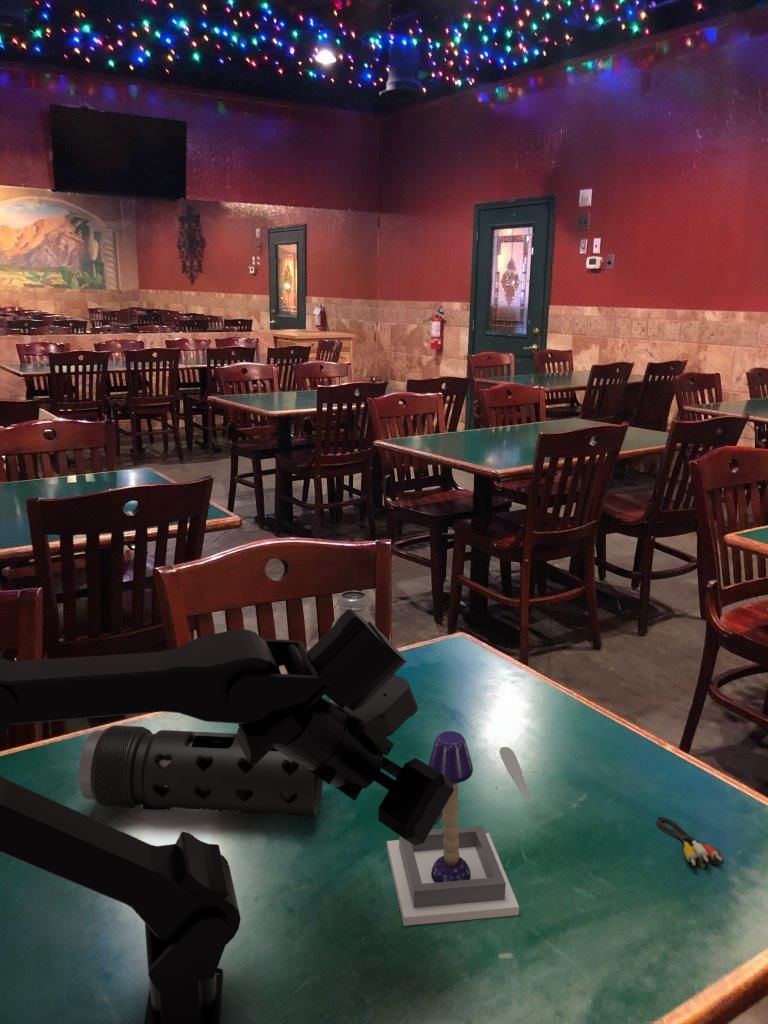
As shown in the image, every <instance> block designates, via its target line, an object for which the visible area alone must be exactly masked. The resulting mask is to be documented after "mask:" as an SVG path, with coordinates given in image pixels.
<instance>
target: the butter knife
mask: <svg viewBox="0 0 768 1024" xmlns="http://www.w3.org/2000/svg"><path fill="white" fill-rule="evenodd" d="M499 755H500V756H501V759H502V761H503V764H504V765H505V768H506V770H507V771H508V773H509V775H510V776H511V778H512V779H513V781H514V783H515V785H516V787H517V786H518V787H519V788H518V787H517V789H518V791H519V790H520V791H521V793H522V794H523V795H522V794H521V793H520V794H521V796H522V798H523V799H524V798H527V799H526V800H529V799H530V797H529V795H531V793H530V791H529V792H527V788H528V786H527V784H525V783H526V781H524V780H525V777H524V775H523V776H522V773H523V771H522V767H521V765H520V763H518V762H519V760H518V758H517V756H516V754H515V752H514V751H513V749H511V748H510V747H509V746H502V747H500V749H499ZM520 767H521V768H520ZM523 777H524V778H523ZM520 791H519V792H520ZM529 793H530V794H529ZM528 797H529V798H528ZM529 801H531V799H530V800H529ZM529 801H527V802H529ZM531 803H532V802H531Z"/></svg>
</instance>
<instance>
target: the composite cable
mask: <svg viewBox="0 0 768 1024" xmlns="http://www.w3.org/2000/svg"><path fill="white" fill-rule="evenodd" d="M666 824H668V825H666ZM655 825H656V827H657V828H658V829H659V830H660V831H662V832H664V833H666V834H667V835H670V836H672V837H674V838H677V839H679V840H680V841H681V842H683V847H684V848H683V853H684V855H685V858H686V860H687V861H688V862H689V863H691V865H692V866H696V865H697V866H699V867H701V869H702V870H705V868H706V867H705V866H706V864H705V863H704V861H705V862H706V863H709V864H712V865H721V864H723V861H724V858H723V854H722V852H721V851H720V850H719V849H718V848H716V847H714V846H712V845H709V844H707V843H704V842H702V841H700V840H697V839H696V838H694V837H692V836H691V835H689V833H688V832H686V831H685V830H684V829H683V828H682V827H681V826H680V825H679V824H678V823H677V822H675V821H674V820H672V819H670V818H668V817H665V816H658V817H657V818H656V823H655ZM669 825H670V826H671V827H670V826H669Z"/></svg>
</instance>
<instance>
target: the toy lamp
mask: <svg viewBox="0 0 768 1024" xmlns="http://www.w3.org/2000/svg"><path fill="white" fill-rule="evenodd" d="M433 743H434V744H433V747H432V751H431V753H430V754H431V755H430V758H429V760H428V764H427V765H428V766H430V767H432V768H433V769H435V770H437V771H439V772H440V773H442V774H443V775H445V776H446V777H447V778H449V779H450V780H451V781H452V782H453V787H454V791H453V793H452V794H451V796H450V798H449V800H448V801H447V803H446V805H445V807H444V808H443V810H442V813H443V816H442V818H441V819H442V823H443V825H442V828H443V834H444V838H443V845H444V848H445V849H444V853H443V855H444V856H442V857H440V858H439V859H437V860H436V862H435V863H434V865H433V867H432V872H431V876H432V879H433V881H434V882H435V883H437V882H449V881H460V880H470V877H471V874H470V869H469V866H468V865H467V863H466V862H465V860H463V859H462V858H461V857H459V850H458V847H459V838H458V834H459V827H460V826H459V824H458V823H459V820H460V819H459V812H458V810H459V800H458V798H459V793H460V791H459V787H458V785H459V784H460V783H463V782H465V781H466V780H468V779H470V778H471V777H472V775H473V772H474V769H473V768H474V767H473V762H472V758H471V754H470V752H469V749H468V745H467V741H466V738H465V737H464V736H463V735H462V733H460V732H457V731H455V730H454V731H453V730H446V731H442V732H439V734H437V736H436V737H435V740H434V742H433Z"/></svg>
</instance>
